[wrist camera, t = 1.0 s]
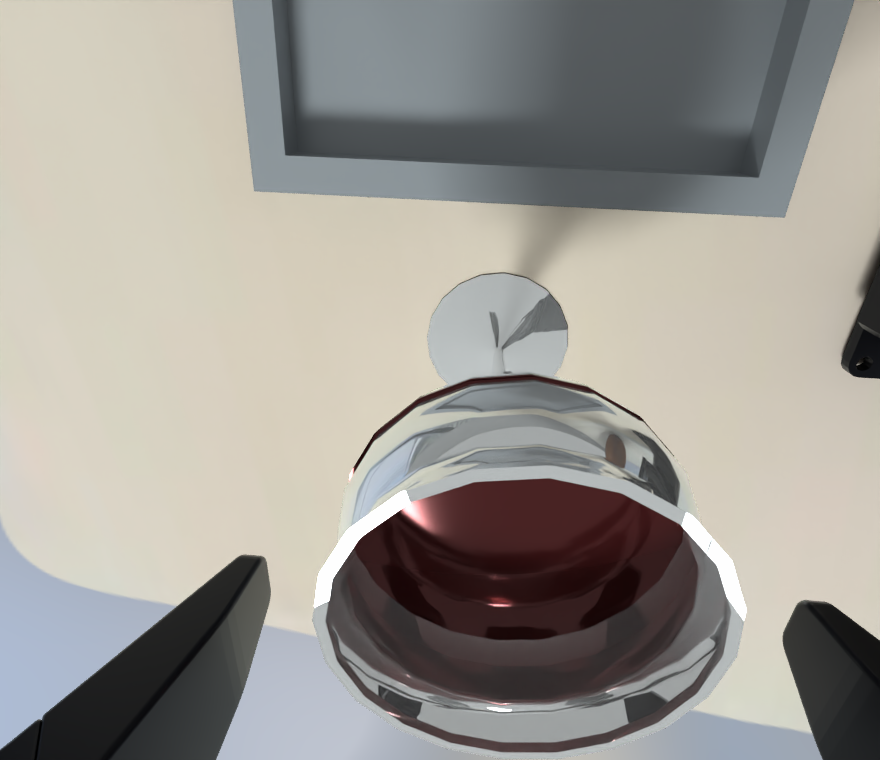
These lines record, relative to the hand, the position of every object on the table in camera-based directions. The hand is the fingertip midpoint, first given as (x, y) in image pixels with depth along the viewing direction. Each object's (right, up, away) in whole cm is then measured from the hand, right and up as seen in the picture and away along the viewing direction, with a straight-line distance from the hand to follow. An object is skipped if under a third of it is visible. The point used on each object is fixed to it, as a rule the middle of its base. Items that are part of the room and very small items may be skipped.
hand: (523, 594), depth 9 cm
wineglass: (+1, +5, +10) cm, 11 cm away
